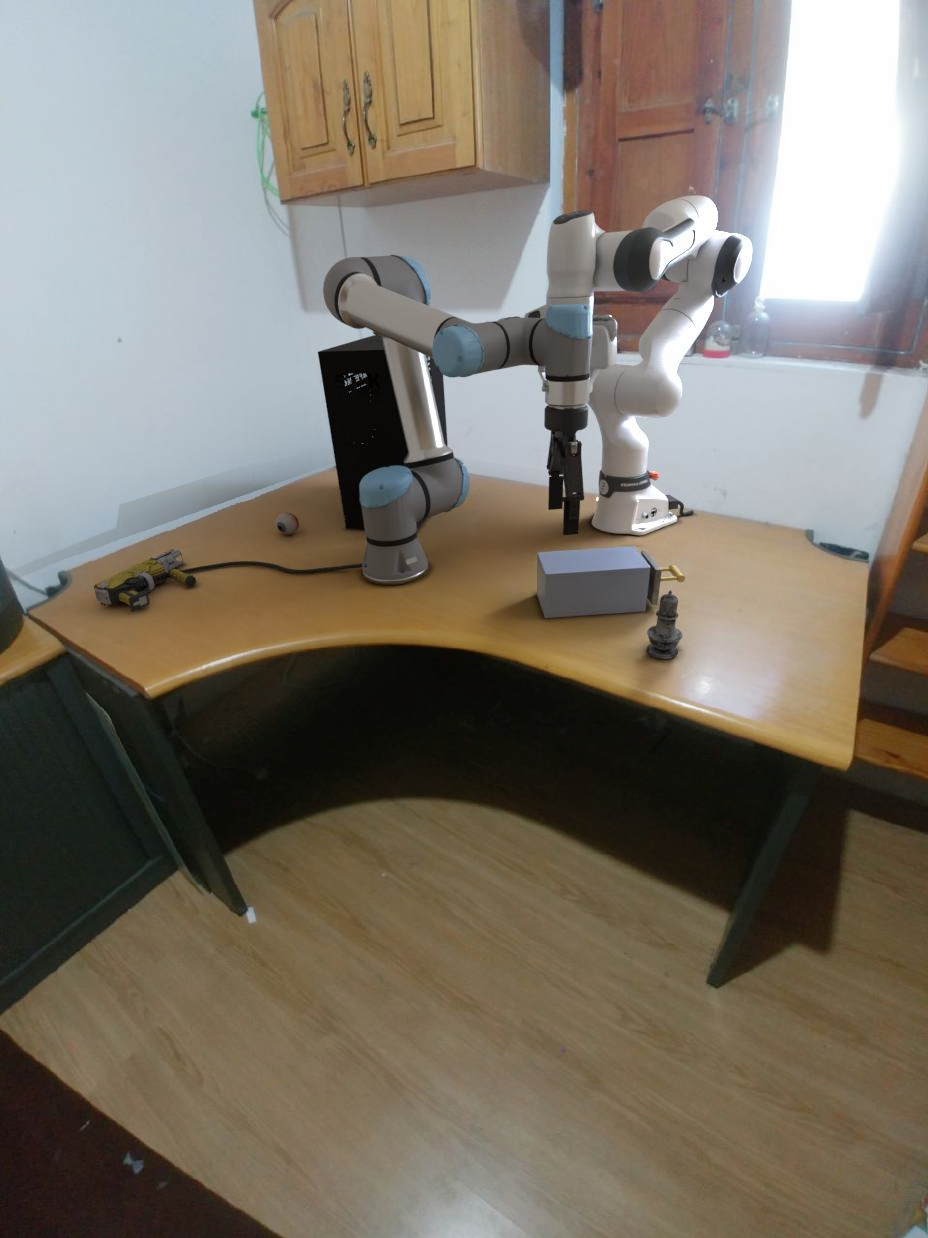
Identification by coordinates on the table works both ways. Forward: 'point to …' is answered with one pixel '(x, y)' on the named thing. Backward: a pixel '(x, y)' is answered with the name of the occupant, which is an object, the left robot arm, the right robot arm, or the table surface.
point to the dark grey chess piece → (665, 629)
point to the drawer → (658, 577)
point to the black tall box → (366, 416)
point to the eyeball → (287, 523)
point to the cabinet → (592, 581)
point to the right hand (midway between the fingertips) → (566, 390)
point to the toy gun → (141, 581)
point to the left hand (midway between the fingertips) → (562, 521)
